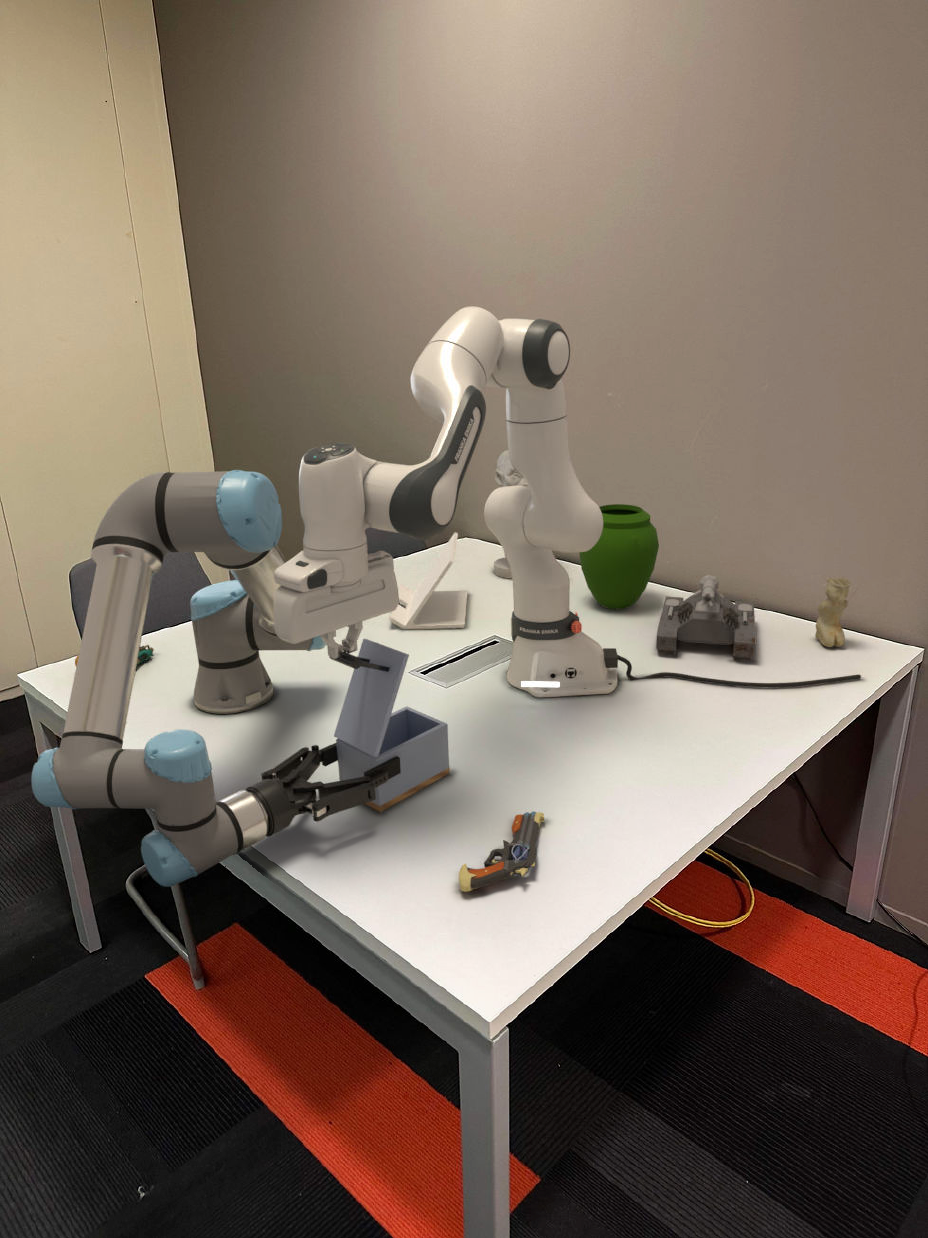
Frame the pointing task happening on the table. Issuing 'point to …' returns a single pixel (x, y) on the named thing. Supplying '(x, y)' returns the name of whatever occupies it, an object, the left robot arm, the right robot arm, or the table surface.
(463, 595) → the tablet stand
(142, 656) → the spray gun
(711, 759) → the table surface
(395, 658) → the lid
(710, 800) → the table surface
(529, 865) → the toy gun
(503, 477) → the bust sculpture
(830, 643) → the sculpture
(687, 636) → the toy
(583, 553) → the vase
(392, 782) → the chest
